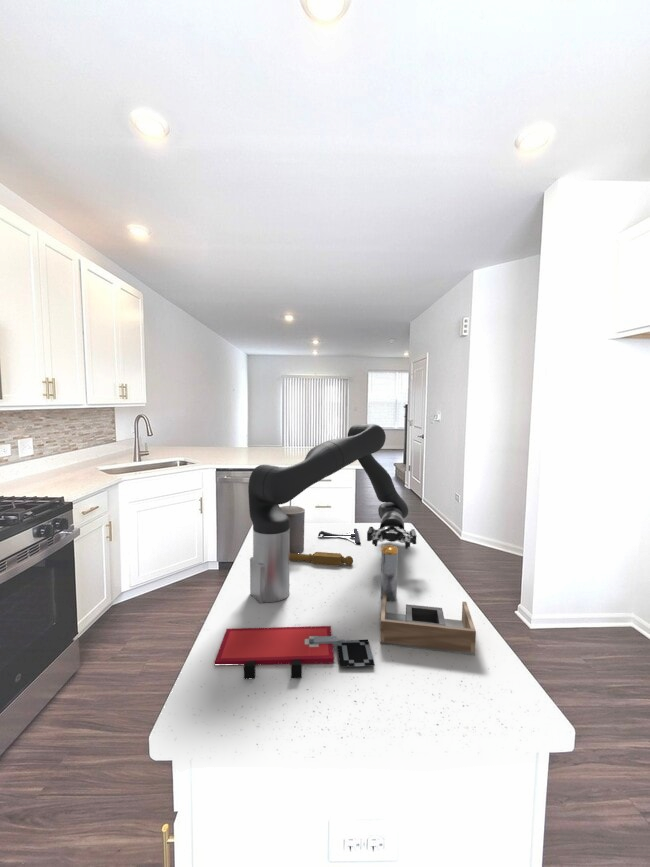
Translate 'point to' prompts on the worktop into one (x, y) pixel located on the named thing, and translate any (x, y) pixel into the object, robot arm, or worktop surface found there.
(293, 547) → the pillar candle
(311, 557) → the tap handle
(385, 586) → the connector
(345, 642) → the red board with handle
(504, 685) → the worktop surface
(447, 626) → the socket box
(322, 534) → the bracket
